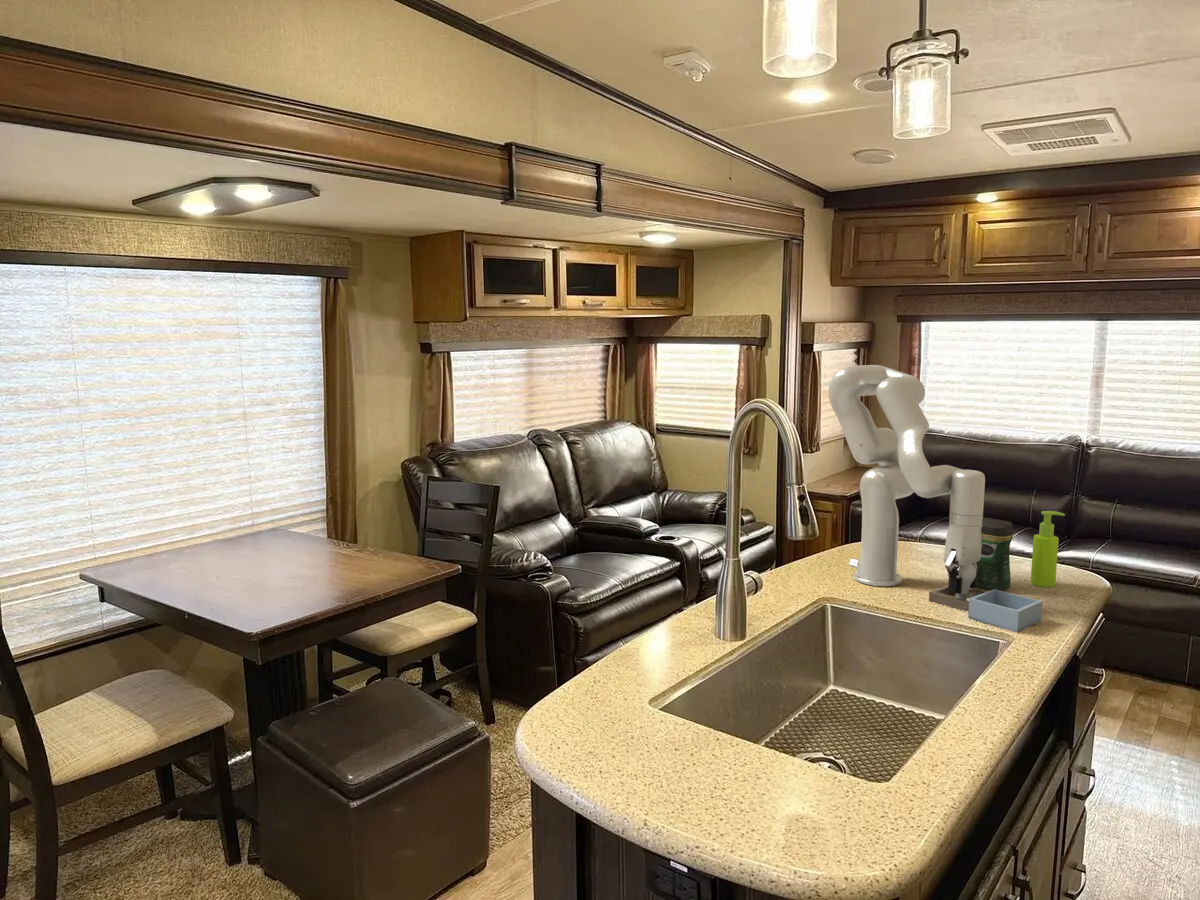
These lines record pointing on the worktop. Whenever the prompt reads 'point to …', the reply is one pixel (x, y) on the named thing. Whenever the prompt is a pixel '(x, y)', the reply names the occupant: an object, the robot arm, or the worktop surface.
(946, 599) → the socket collar
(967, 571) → the lightbulb
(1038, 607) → the box
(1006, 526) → the coffee jar
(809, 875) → the worktop surface
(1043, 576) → the soap dispenser
